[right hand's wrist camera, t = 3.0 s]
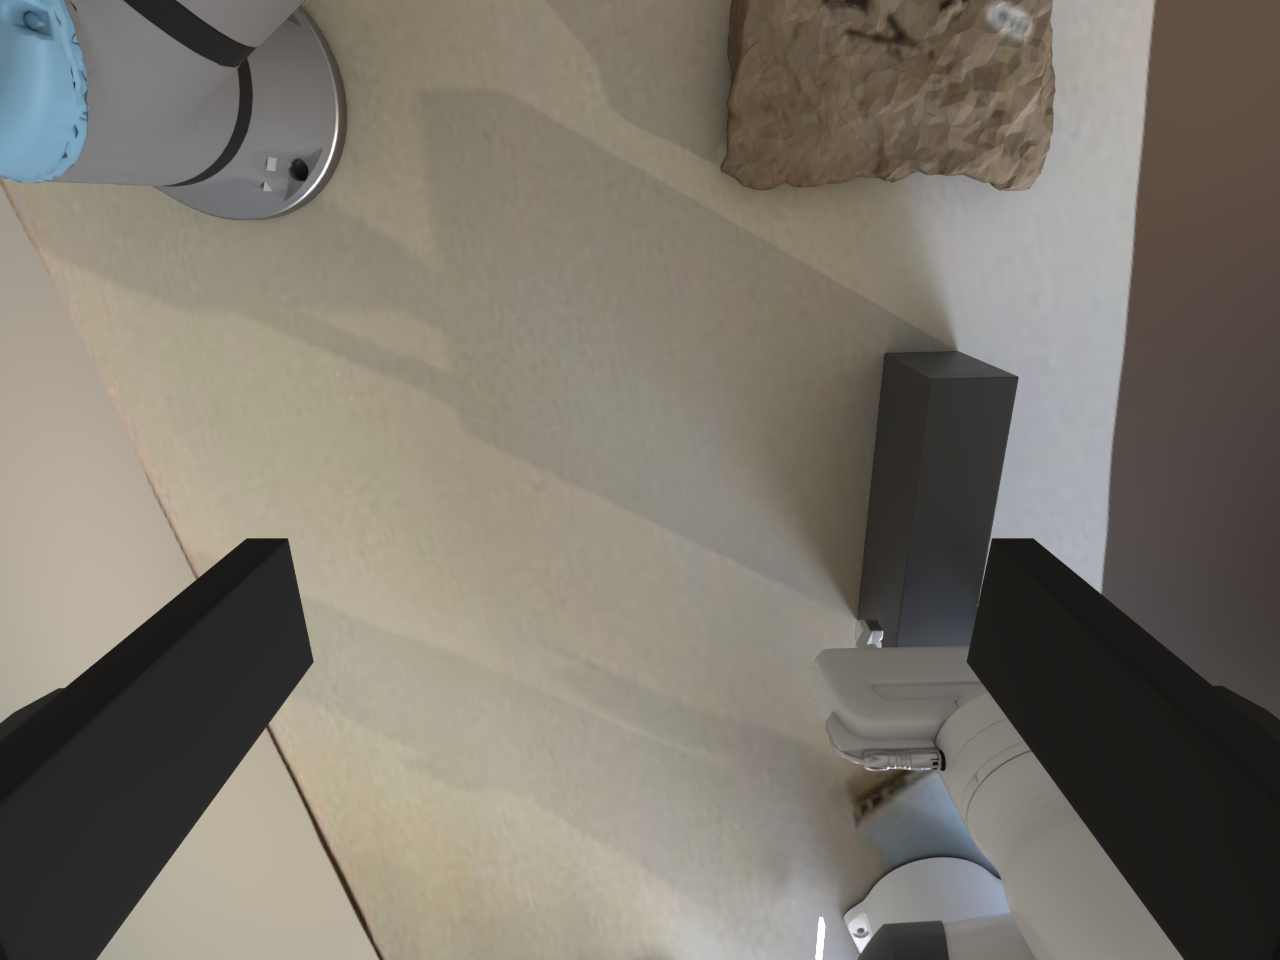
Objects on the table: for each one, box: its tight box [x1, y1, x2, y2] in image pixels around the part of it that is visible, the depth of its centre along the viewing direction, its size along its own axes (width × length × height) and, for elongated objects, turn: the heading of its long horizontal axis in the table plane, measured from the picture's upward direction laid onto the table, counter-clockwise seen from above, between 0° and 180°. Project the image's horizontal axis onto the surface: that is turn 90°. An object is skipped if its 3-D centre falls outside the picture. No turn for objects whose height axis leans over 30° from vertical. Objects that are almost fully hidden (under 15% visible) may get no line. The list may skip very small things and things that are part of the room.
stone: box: [721, 0, 1055, 191], centre depth 42 cm, size 21×15×6 cm
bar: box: [857, 351, 1018, 648], centre depth 52 cm, size 24×6×9 cm, turn 1°
